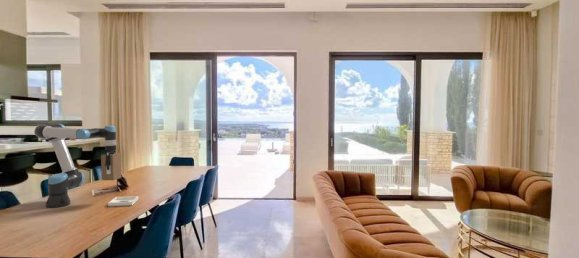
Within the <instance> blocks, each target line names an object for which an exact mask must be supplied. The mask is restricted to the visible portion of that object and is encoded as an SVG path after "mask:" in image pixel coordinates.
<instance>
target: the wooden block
mask: <svg viewBox="0 0 579 258" xmlns="http://www.w3.org/2000/svg"><path fill="white" fill-rule="evenodd" d="M100 161H101V162H100V165H101V166H100V167H101V168H100V169H101V181H116V180H119V179H121V178H122V153H117V152H116V153H115V154H111V155H110V166H111V174H107V169H106V166H105V161H106V153H105V154H101V155H100Z"/></svg>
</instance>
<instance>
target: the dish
mask: <svg viewBox="0 0 579 258" xmlns="http://www.w3.org/2000/svg"><path fill="white" fill-rule="evenodd" d="M137 200H138V201H139V195H136V196H135V195H133V196H132V195H131V196H129V195H128V196H115V197H114V198H112V200H110V201H109V202H107V207H109V208H111V207H113V208H116V207H115V206H117V207H133V206H132V205H133V204H134V203H135V202H136V201H137ZM138 201H137V202H138ZM137 202H136V203H137ZM136 203H135V204H136ZM135 204H134V205H135Z"/></svg>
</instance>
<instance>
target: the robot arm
mask: <svg viewBox="0 0 579 258" xmlns="http://www.w3.org/2000/svg"><path fill="white" fill-rule="evenodd" d="M34 135H35V136H36V137H37V138H38V139H43V140H44V139H45V140H46V139H47V140H48V142H49V143H50V144H51V145H52V148H53V150H54V152H55V155H56V158H57V160H58V163H59V165H60V168H61V171H62V172H60V173H55V174H52V175H50V176H49V177H48V181H47V185H48V187H47V189H48V197H47V200H46V202H45V207H46V208H49V209H52V208H53V209H55V208H62V207H66V206H69V205H70V204H71V203H72V201H71V198H70V197H69V194H68V193H69V192H68V189H72V188H76V187H79V186H81V185H82V184H84V182H85V174H84V172H82V171H79V169H78V167H76V166H75V164H74V161H73V159H72V156H71V153H70V151H69V147H68V146H67V143H66V139H79V140H90V139H99V138H100V139H101V138H102V139H104V145H105V146H104V149H105V151H106V152H105V154H106V161H105V166H106V169H107V174H111V166H110V155H111V154H115V153H117V152H116V151H117V137H116V136H117V129H116V126H115V125H105V126H104V127H103V128H102V127H101V128H99V127H96V128H95V127H94V128H71V127H70V128H69V127H68V128H67V127H66V126H65V125H64V124H61V123H41V124H39V125H37V126H36V127H35V128H34Z"/></svg>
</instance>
